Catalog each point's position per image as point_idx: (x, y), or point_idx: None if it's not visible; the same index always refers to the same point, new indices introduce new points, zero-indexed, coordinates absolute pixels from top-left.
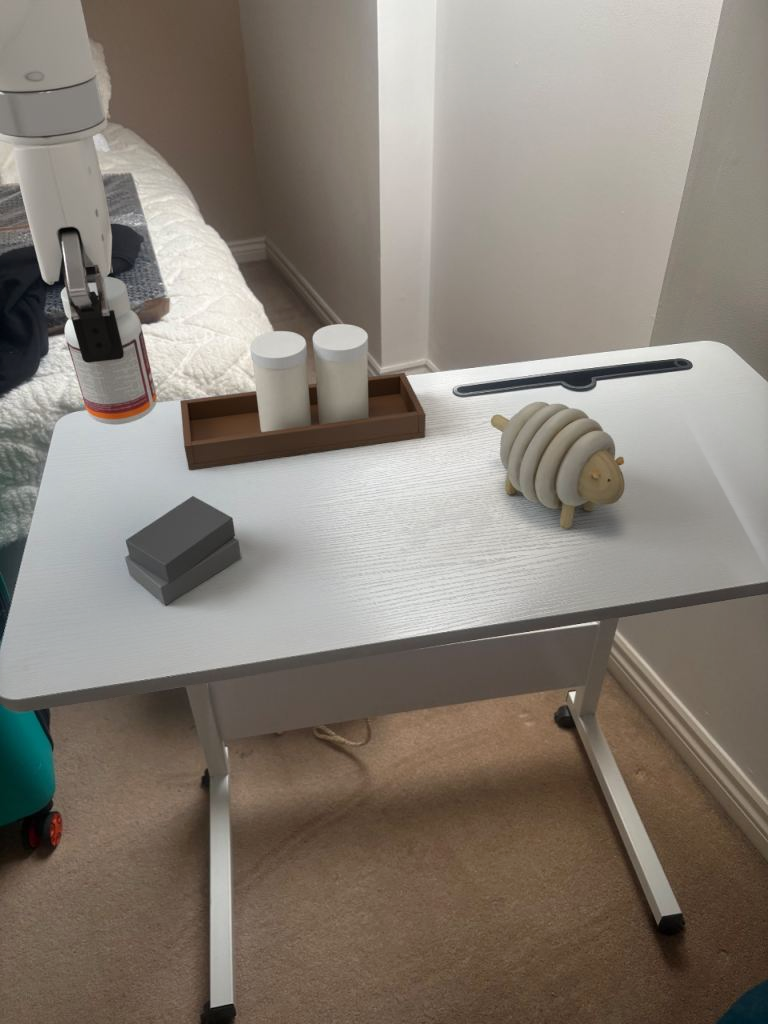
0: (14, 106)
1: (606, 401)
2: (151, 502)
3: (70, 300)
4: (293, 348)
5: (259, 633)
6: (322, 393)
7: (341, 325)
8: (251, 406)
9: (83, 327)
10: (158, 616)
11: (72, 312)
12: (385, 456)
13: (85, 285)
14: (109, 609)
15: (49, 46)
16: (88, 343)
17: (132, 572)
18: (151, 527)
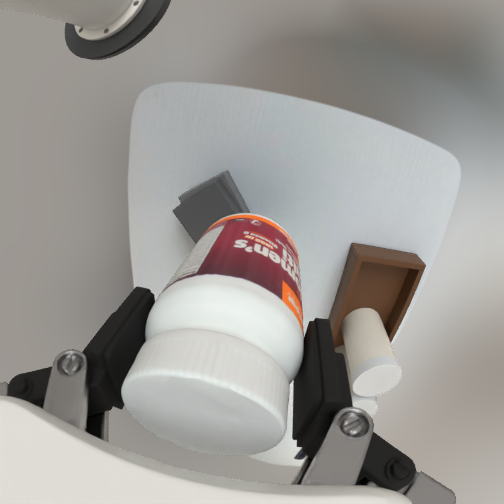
0: None
1: (288, 438)
2: (320, 202)
3: (18, 386)
4: (362, 389)
5: (147, 247)
6: (347, 368)
7: (371, 414)
8: (395, 310)
9: (85, 348)
10: (176, 186)
11: (54, 364)
12: None
13: None
14: (193, 151)
15: None
16: (103, 325)
17: (219, 174)
18: (224, 206)
